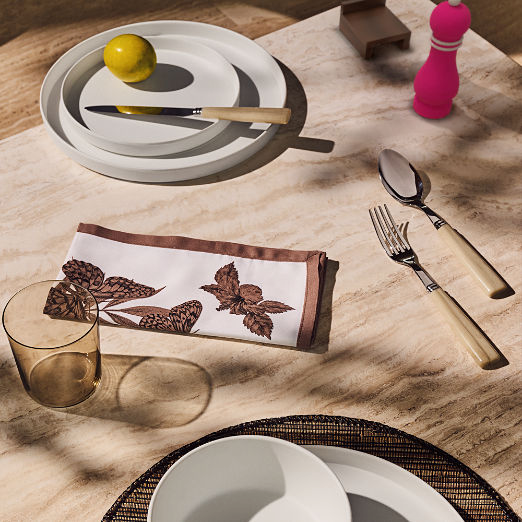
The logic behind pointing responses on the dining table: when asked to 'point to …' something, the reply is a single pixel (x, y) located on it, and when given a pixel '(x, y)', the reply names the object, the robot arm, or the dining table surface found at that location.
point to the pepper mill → (441, 60)
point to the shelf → (371, 25)
